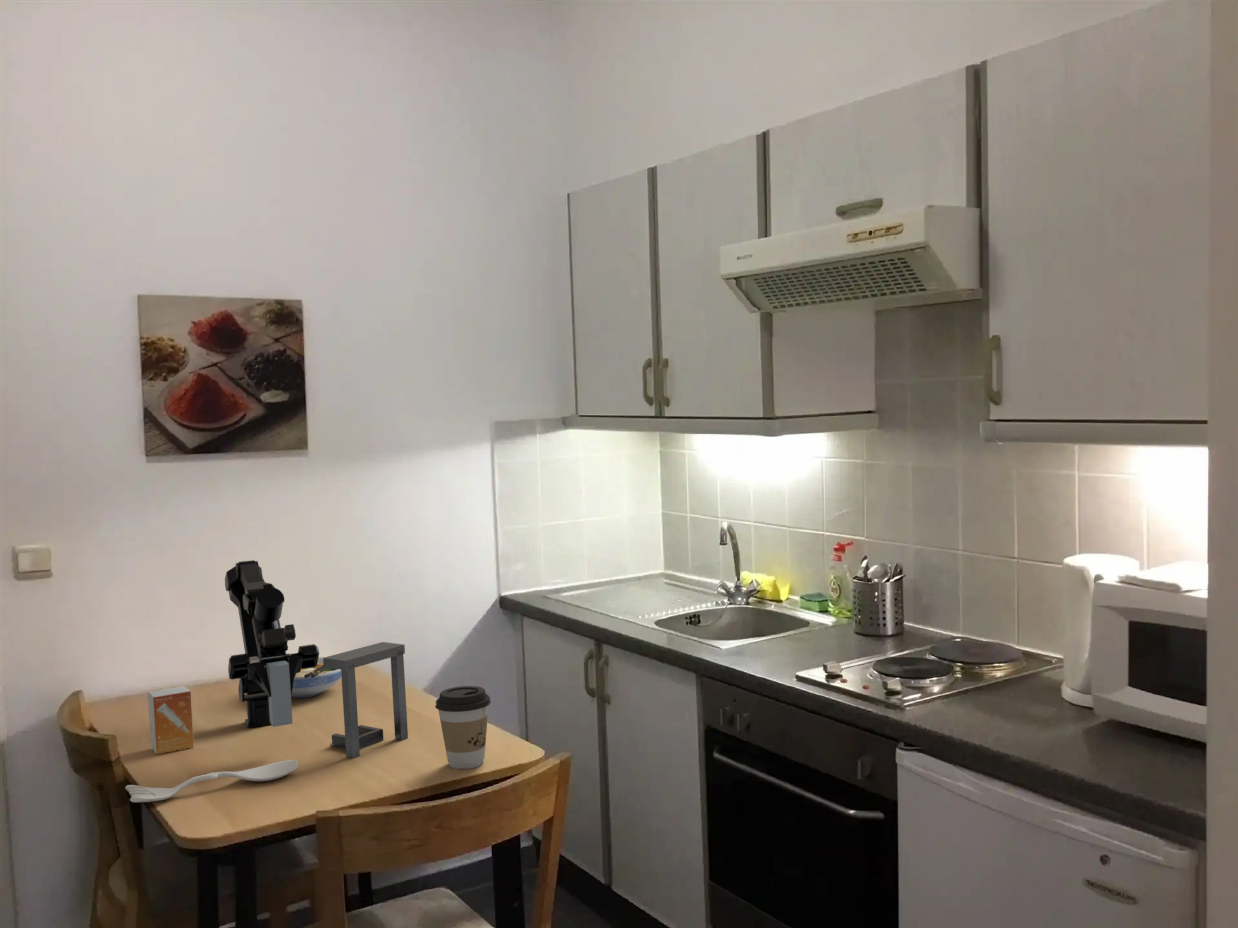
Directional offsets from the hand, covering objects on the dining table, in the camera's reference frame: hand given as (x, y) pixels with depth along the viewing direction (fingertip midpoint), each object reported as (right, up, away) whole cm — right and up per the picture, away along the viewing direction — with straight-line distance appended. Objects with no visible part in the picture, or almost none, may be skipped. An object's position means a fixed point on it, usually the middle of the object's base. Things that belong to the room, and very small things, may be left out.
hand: (280, 694), depth 235 cm
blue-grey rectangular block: (0, -7, +2) cm, 7 cm away
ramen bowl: (-10, -11, +53) cm, 55 cm away
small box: (-27, -14, +10) cm, 33 cm away
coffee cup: (+41, -12, -10) cm, 44 cm away
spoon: (-7, -15, -18) cm, 25 cm away
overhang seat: (+16, -12, +7) cm, 21 cm away
